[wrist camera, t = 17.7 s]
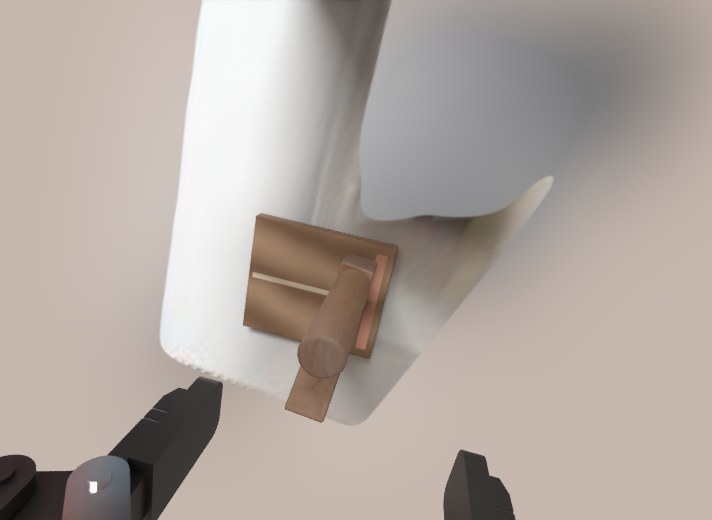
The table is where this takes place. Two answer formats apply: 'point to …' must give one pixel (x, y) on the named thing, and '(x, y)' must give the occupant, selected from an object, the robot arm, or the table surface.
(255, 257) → the board
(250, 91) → the table surface
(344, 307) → the tan cylinder-on-bar part
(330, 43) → the table surface
